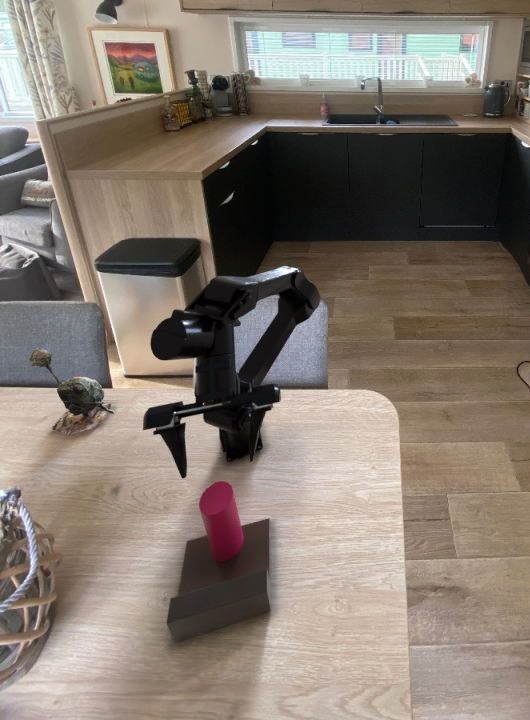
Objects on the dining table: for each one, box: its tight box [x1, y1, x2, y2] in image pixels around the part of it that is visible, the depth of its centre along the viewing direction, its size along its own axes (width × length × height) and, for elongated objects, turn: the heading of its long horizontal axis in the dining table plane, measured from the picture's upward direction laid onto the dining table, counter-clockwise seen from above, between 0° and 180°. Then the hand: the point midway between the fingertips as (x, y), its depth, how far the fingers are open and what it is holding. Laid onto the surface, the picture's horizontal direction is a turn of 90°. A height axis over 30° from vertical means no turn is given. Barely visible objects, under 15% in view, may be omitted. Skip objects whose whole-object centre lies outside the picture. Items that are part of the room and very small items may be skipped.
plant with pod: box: [28, 347, 116, 436], centre depth 75 cm, size 8×11×20 cm
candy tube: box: [198, 480, 243, 561], centre depth 56 cm, size 4×4×11 cm
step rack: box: [165, 517, 272, 643], centre depth 55 cm, size 10×12×5 cm
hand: (218, 469), depth 57 cm, fingers open, 9 cm apart
